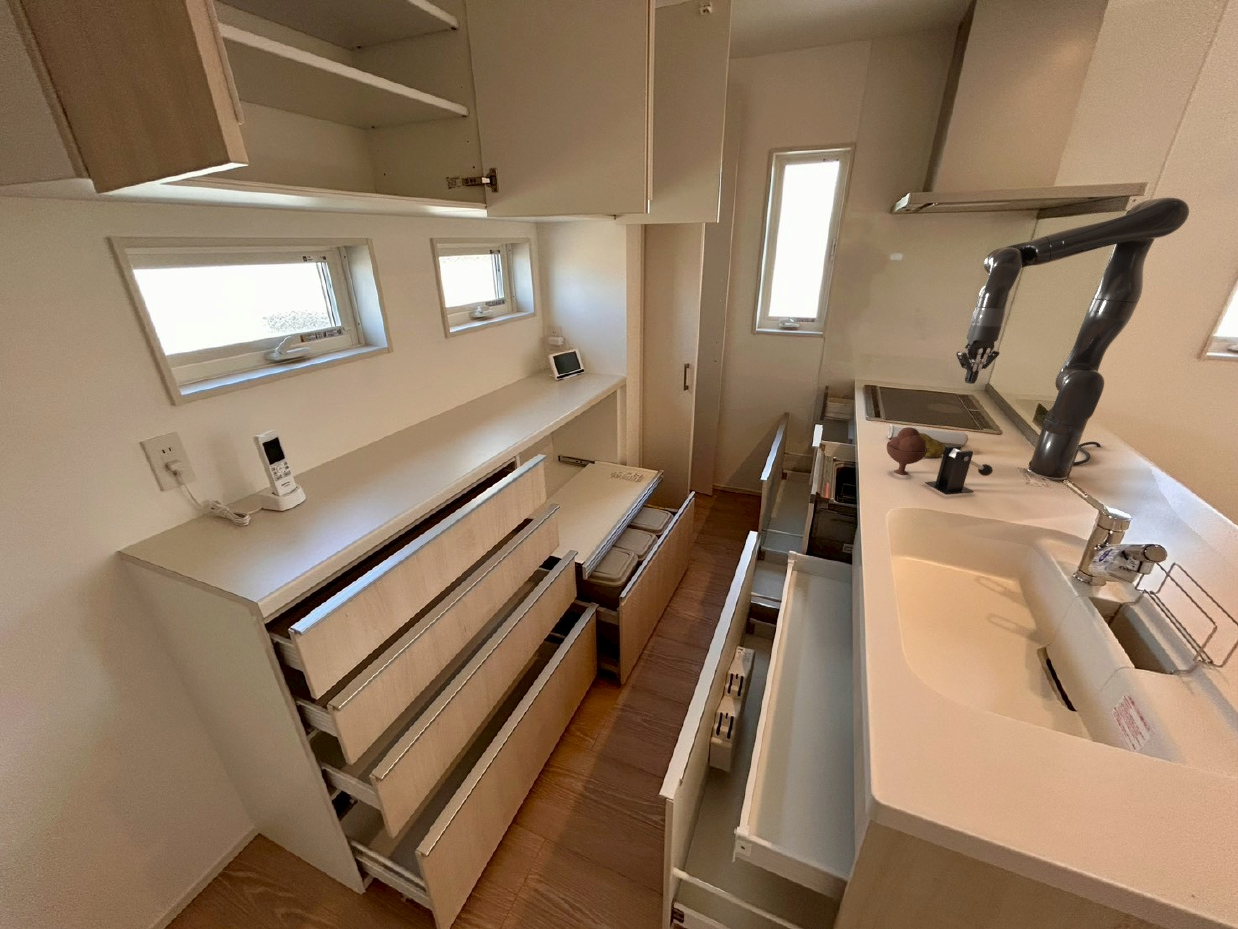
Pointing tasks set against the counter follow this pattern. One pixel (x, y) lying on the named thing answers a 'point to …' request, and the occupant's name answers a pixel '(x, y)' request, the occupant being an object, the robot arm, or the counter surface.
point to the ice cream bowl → (906, 448)
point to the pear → (933, 446)
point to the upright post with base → (953, 472)
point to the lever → (976, 465)
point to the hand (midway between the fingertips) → (969, 383)
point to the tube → (935, 435)
